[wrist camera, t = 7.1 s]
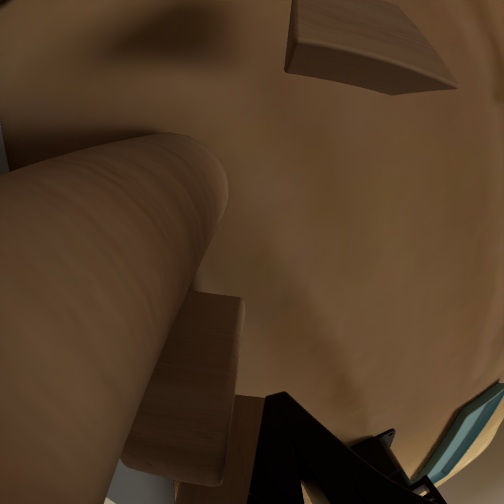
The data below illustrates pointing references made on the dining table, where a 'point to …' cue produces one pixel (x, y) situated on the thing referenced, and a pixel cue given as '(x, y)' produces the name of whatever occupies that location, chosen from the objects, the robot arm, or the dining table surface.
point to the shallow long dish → (462, 434)
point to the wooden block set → (150, 291)
